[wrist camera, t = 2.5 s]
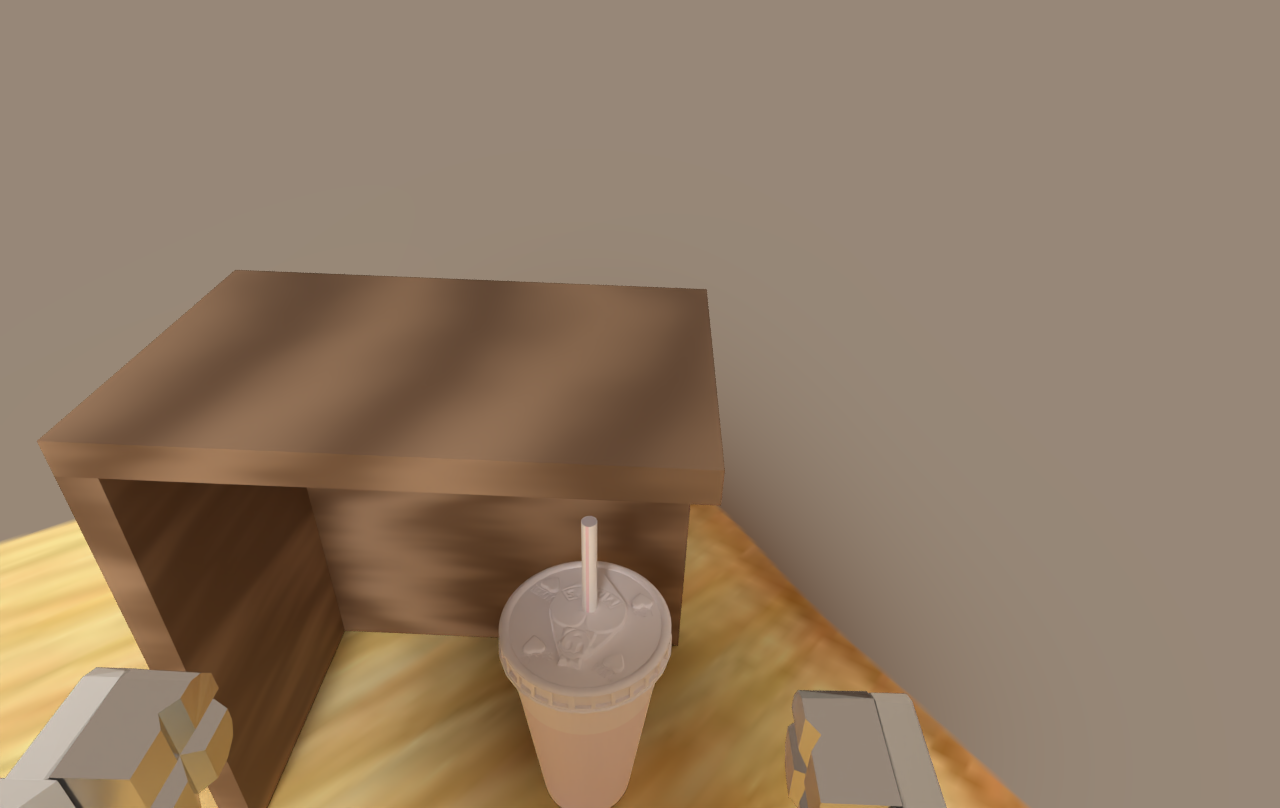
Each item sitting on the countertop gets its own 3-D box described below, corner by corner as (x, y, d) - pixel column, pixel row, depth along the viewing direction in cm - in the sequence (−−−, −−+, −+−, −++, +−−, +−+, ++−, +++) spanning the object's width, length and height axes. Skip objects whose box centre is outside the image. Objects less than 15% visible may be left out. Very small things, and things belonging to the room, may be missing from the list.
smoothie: (673, 724, 35) (694, 488, 28) (643, 866, 30) (659, 624, 22) (540, 694, 36) (525, 460, 29) (489, 827, 31) (454, 584, 24)
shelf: (228, 827, 31) (36, 441, 20) (330, 611, 40) (235, 270, 30) (680, 848, 31) (724, 470, 20) (677, 626, 40) (706, 289, 30)
